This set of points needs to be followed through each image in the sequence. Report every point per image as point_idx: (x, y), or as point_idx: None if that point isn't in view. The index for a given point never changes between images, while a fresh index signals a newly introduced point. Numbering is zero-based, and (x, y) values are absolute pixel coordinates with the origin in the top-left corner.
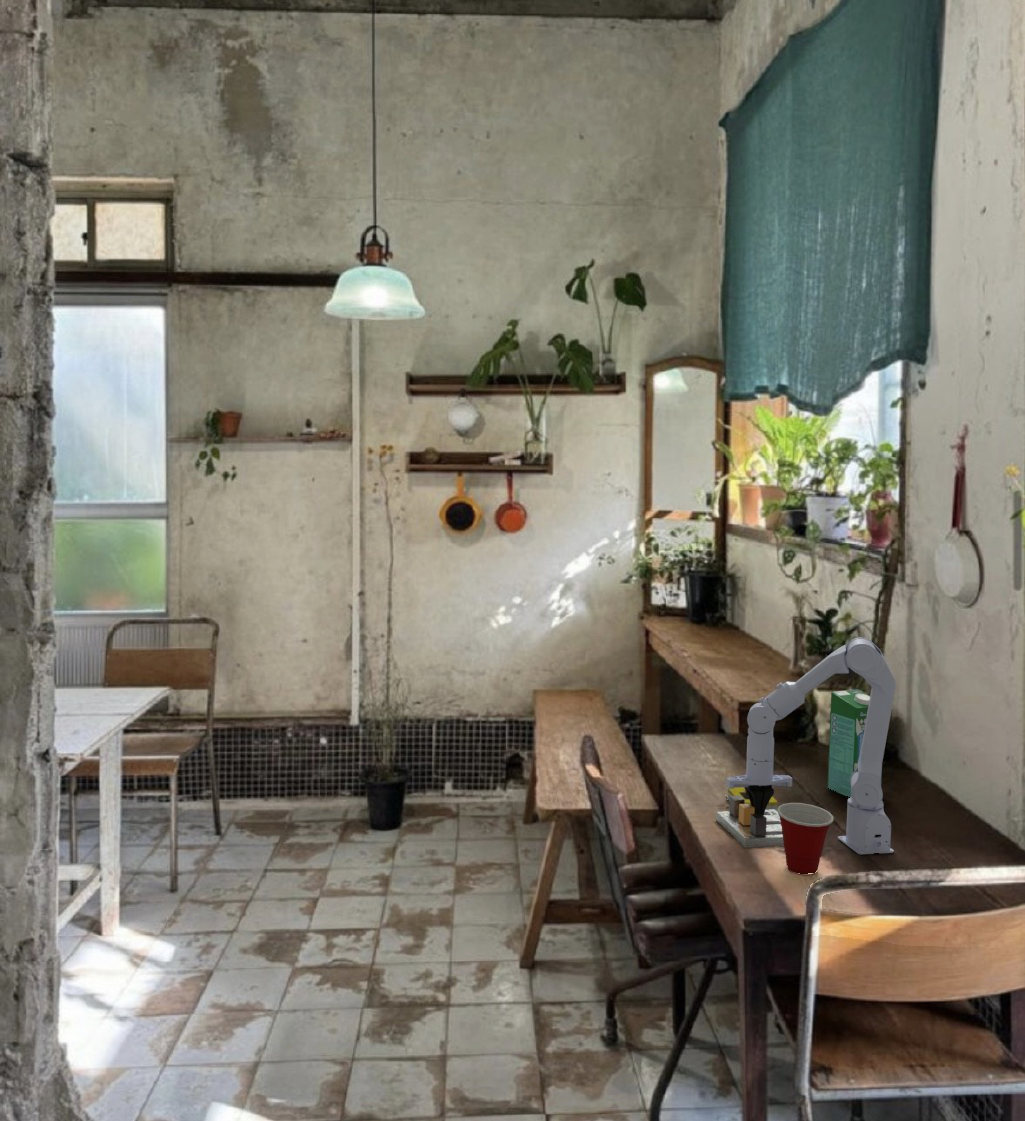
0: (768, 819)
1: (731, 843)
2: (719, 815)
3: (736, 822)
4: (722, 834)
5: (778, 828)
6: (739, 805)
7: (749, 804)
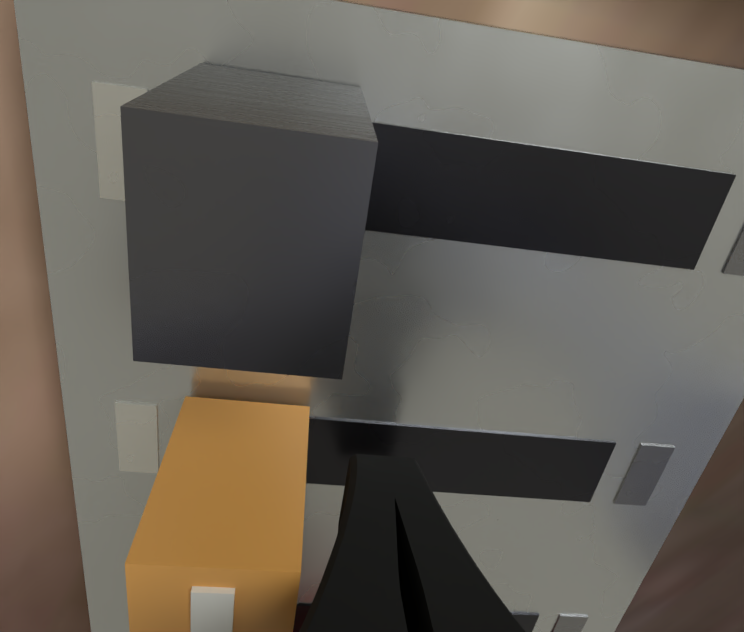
0: (552, 386)
1: (41, 535)
2: (31, 85)
3: (158, 392)
4: (16, 374)
5: (479, 568)
6: (132, 554)
7: (280, 597)
